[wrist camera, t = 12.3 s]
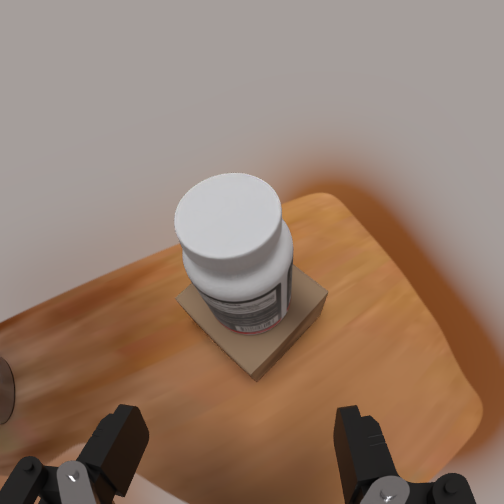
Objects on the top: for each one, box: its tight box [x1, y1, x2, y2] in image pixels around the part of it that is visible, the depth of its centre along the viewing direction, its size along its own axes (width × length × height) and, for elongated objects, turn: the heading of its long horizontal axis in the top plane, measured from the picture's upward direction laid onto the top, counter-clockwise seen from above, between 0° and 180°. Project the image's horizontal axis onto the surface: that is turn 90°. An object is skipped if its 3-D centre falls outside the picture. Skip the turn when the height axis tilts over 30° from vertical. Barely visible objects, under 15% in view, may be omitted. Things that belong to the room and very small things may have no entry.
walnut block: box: [175, 265, 328, 382], centre depth 23 cm, size 8×8×5 cm
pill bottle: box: [174, 173, 293, 335], centre depth 16 cm, size 6×6×10 cm
